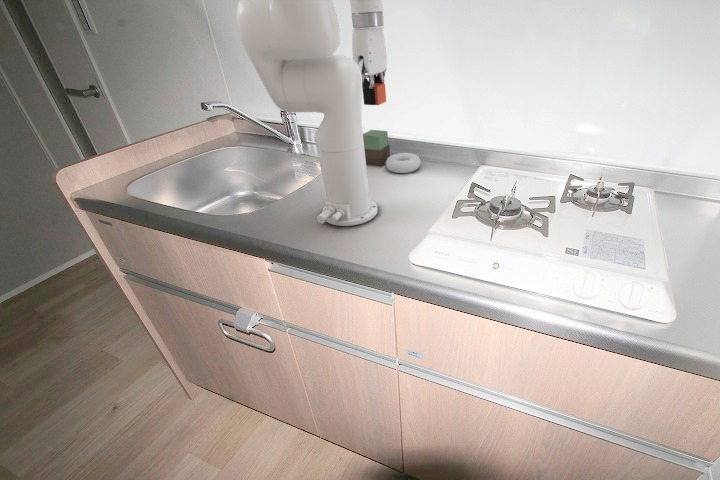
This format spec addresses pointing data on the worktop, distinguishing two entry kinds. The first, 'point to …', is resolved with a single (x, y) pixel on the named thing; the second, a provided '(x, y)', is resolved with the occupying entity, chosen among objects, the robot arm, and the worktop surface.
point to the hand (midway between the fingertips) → (374, 101)
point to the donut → (403, 162)
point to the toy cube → (379, 93)
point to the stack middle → (375, 139)
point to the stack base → (377, 156)
